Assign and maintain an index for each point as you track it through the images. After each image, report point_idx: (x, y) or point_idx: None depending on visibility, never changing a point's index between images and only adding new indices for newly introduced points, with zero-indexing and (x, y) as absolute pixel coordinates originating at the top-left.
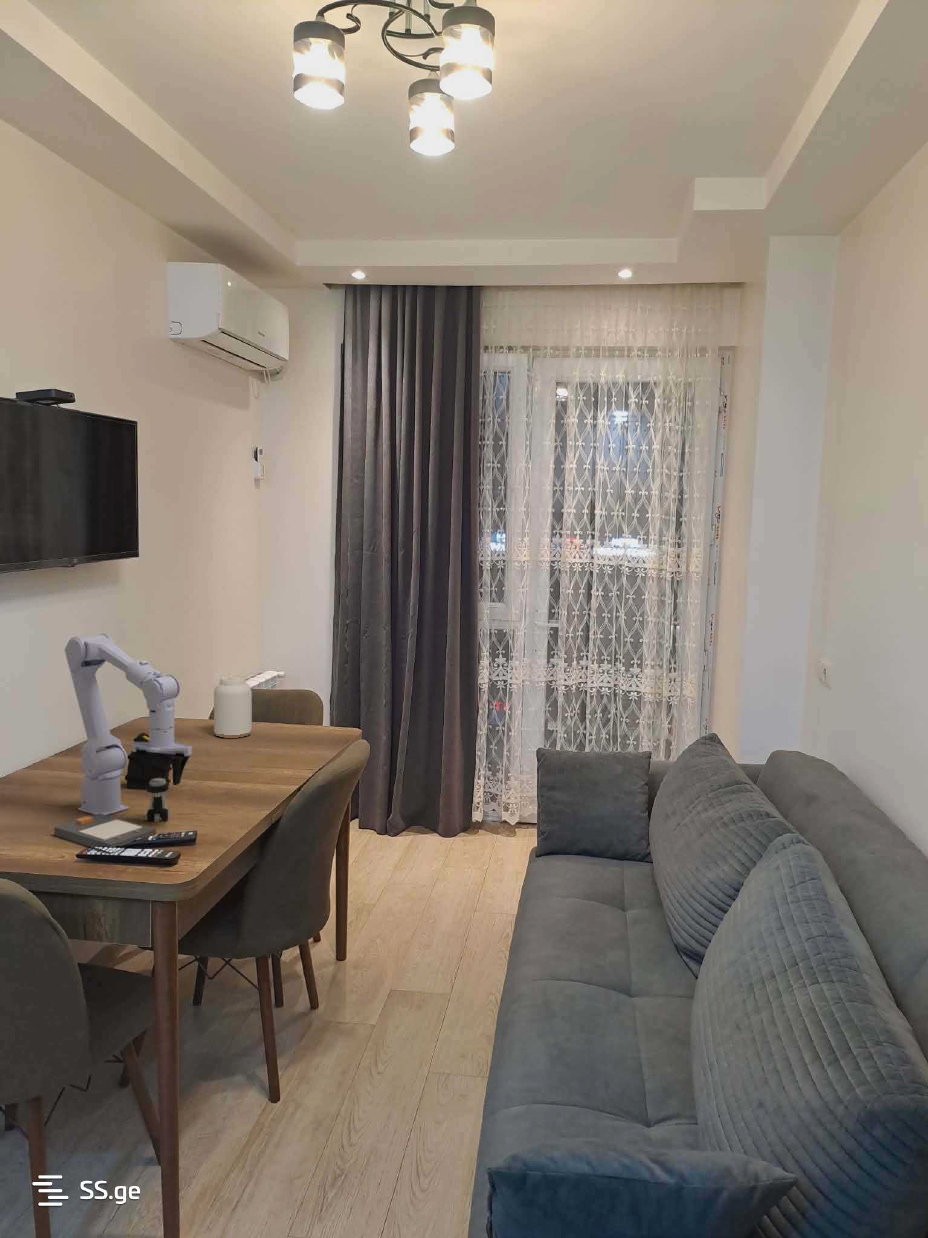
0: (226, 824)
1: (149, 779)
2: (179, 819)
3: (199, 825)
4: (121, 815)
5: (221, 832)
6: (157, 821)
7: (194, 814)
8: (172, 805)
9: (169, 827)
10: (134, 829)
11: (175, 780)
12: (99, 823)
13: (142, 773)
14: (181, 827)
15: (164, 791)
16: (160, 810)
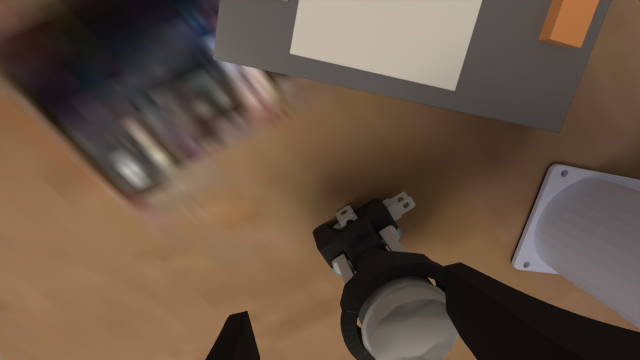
0: (84, 304)
1: (450, 305)
2: (287, 267)
3: (171, 252)
4: (499, 209)
5: (22, 230)
6: (340, 210)
7: (275, 326)
8: None
9: (260, 186)
10: (297, 6)
11: (220, 336)
12: (497, 24)
13: (504, 289)
14: (217, 206)
15: (342, 295)
16: (341, 237)
